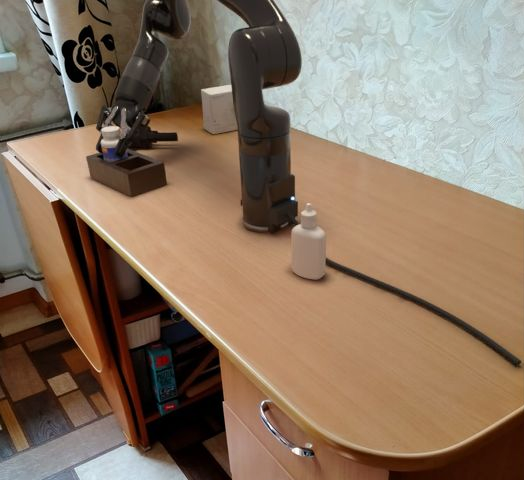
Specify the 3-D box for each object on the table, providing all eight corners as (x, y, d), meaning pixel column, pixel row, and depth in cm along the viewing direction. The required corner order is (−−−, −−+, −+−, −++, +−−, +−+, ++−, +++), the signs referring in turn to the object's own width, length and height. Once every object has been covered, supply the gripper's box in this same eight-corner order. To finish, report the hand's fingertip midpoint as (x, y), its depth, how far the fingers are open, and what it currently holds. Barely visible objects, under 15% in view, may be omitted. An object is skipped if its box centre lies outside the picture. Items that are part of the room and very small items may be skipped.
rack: (167, 184, 128) (164, 162, 125) (131, 197, 123) (127, 174, 120) (125, 166, 138) (121, 145, 135) (90, 177, 133) (85, 156, 130)
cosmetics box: (213, 135, 155) (209, 94, 148) (203, 129, 159) (199, 89, 153) (247, 128, 159) (245, 87, 152) (237, 122, 163) (234, 83, 157)
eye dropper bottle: (312, 263, 97) (313, 195, 90) (328, 278, 93) (330, 208, 86) (289, 268, 96) (288, 200, 88) (303, 284, 92) (304, 213, 84)
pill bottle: (102, 175, 131) (92, 131, 125) (114, 167, 135) (105, 124, 129) (123, 176, 129) (114, 132, 124) (134, 168, 133) (126, 125, 128)
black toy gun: (185, 118, 154) (131, 118, 156) (168, 132, 138) (108, 133, 139) (187, 138, 157) (134, 139, 159) (170, 155, 141) (111, 155, 142)
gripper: (104, 71, 129) (75, 140, 128) (150, 77, 121) (119, 151, 121) (127, 91, 135) (99, 157, 135) (171, 98, 128) (141, 167, 128)
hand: (108, 153), depth 128 cm, fingers closed on pill bottle, 5 cm apart
